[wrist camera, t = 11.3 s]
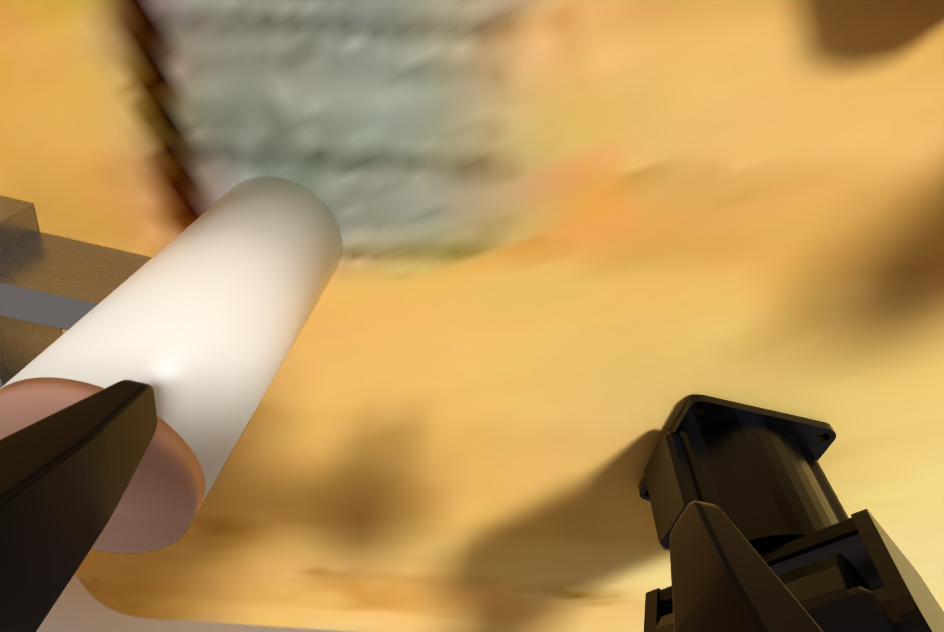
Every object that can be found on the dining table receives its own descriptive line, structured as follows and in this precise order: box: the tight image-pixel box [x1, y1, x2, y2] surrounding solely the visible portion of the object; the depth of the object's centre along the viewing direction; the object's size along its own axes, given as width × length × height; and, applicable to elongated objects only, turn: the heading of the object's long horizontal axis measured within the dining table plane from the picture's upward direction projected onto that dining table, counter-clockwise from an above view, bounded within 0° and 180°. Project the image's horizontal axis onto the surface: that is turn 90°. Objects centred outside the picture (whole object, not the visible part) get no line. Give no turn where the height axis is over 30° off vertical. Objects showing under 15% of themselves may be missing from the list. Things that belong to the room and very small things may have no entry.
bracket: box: [0, 196, 151, 388], centre depth 24 cm, size 6×12×4 cm, turn 168°
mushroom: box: [0, 177, 342, 553], centre depth 17 cm, size 5×5×12 cm
